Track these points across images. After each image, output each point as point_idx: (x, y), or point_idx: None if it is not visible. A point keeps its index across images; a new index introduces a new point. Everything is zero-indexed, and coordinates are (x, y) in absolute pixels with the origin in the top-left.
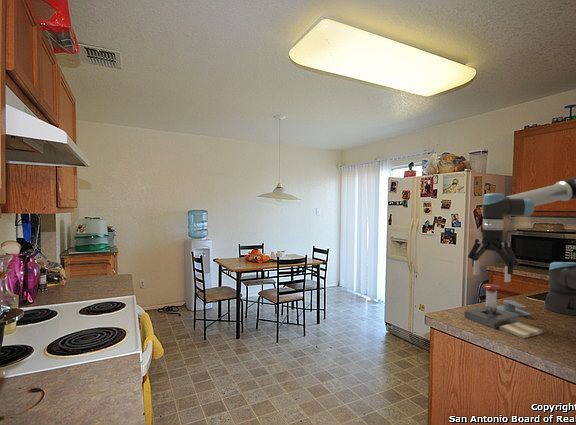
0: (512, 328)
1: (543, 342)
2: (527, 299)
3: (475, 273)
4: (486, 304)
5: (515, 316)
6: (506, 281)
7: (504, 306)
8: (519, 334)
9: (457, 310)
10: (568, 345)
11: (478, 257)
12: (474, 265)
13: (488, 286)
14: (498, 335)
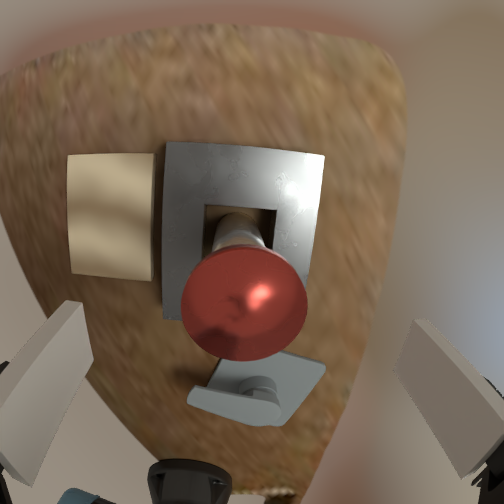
0: (117, 181)
1: (37, 182)
2: (282, 484)
3: (418, 336)
4: (254, 233)
5: (162, 298)
6: (63, 305)
7: (268, 387)
8: (83, 155)
9: (378, 222)
10: (10, 230)
11: (488, 496)
12: (477, 380)
13: (244, 263)
14: (127, 90)
